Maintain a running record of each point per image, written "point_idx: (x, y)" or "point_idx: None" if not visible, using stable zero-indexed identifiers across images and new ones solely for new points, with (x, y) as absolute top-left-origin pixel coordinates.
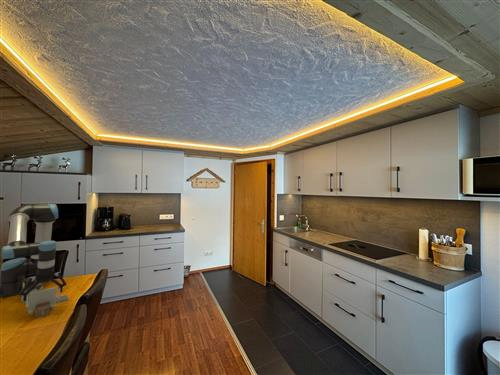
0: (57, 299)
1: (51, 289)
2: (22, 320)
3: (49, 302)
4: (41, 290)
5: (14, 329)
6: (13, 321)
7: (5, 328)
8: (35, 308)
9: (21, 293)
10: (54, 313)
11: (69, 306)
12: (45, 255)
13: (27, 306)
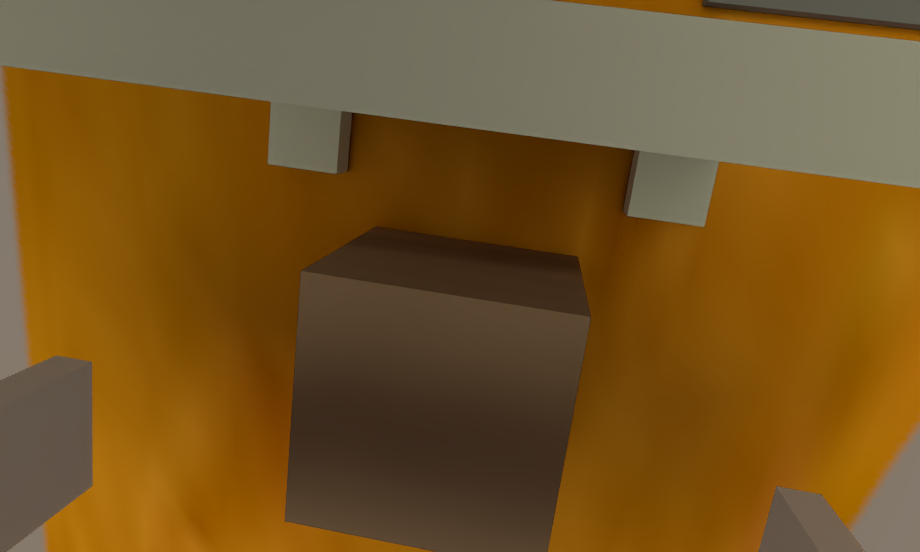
0: None
1: (765, 161)
2: (211, 319)
3: (560, 434)
4: (311, 11)
5: (130, 517)
6: (110, 242)
7: None
8: (339, 251)
9: None
10: (609, 479)
11: (891, 415)
12: None
13: (81, 489)
